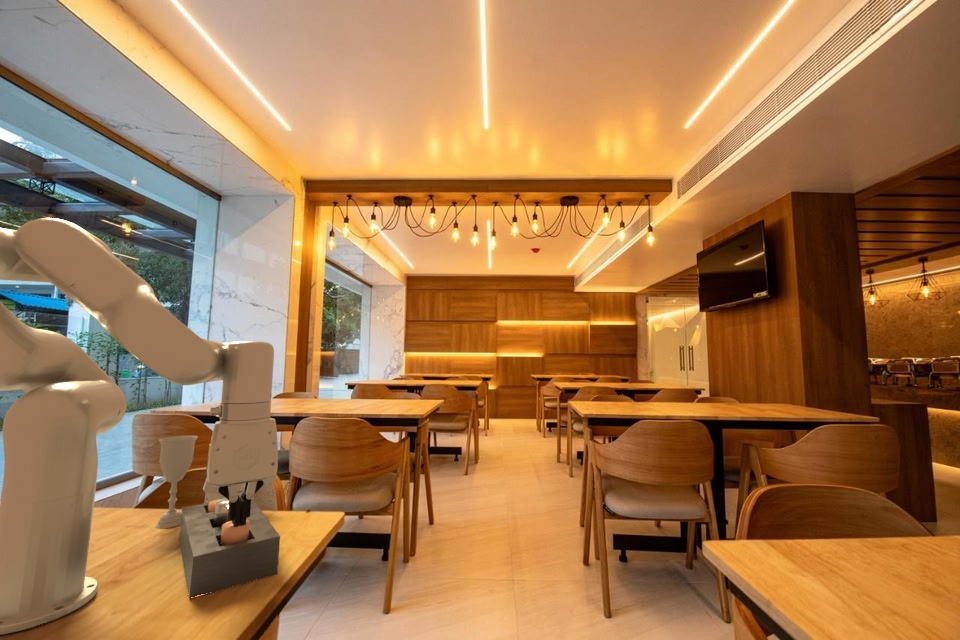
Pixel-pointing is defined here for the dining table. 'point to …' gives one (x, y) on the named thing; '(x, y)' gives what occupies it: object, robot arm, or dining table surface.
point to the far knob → (212, 506)
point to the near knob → (234, 533)
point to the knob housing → (225, 551)
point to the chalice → (174, 472)
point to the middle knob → (221, 510)
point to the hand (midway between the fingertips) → (238, 523)
